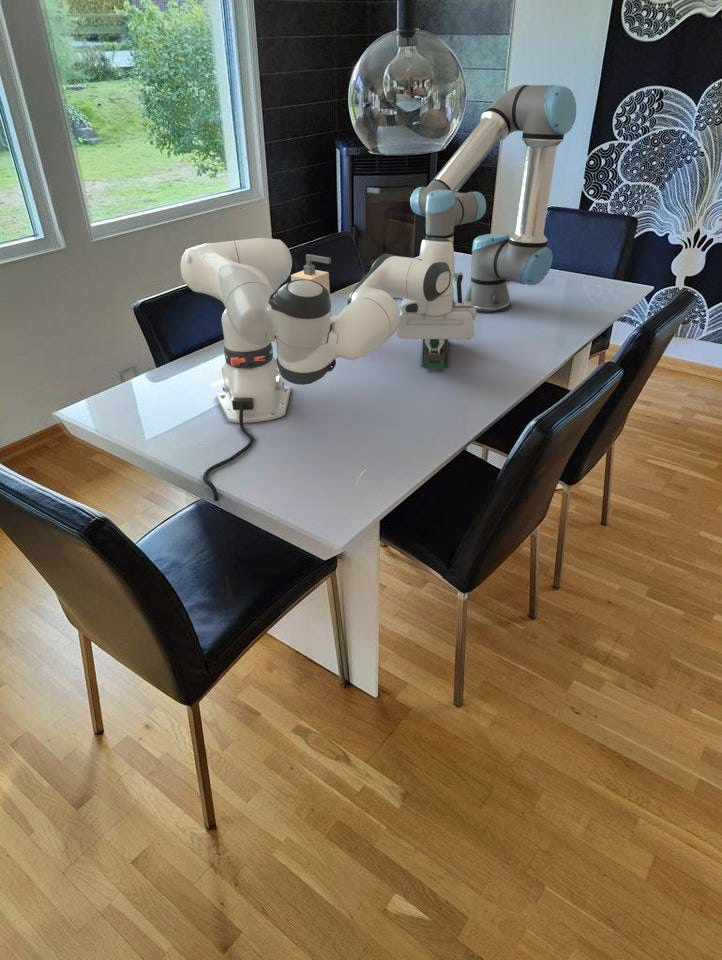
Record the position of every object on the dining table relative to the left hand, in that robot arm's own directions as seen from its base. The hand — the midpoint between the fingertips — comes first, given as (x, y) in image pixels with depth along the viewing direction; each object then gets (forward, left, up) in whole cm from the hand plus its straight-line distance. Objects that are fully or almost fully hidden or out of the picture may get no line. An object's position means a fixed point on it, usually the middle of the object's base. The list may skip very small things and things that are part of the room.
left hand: (434, 353), depth 179 cm
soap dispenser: (+47, +26, -6) cm, 54 cm away
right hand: (+19, -6, -1) cm, 20 cm away
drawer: (+8, -3, -5) cm, 10 cm away
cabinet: (+14, -4, -6) cm, 16 cm away
